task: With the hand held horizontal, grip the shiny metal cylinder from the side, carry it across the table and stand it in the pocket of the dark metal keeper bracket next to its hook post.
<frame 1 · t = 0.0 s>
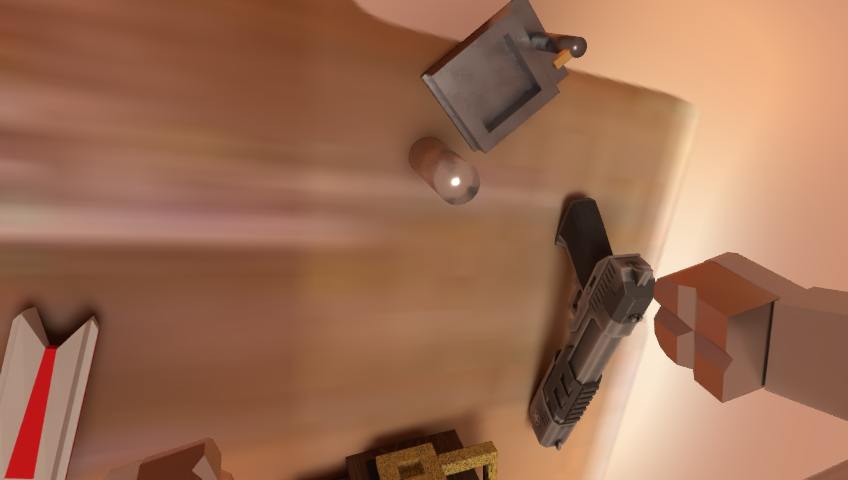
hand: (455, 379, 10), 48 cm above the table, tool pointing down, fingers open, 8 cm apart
toy gun: (49, 422, 59), on the table
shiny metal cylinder: (427, 155, 59), on the table
firearm: (553, 316, 74), on the table
keeper: (488, 81, 58), on the table
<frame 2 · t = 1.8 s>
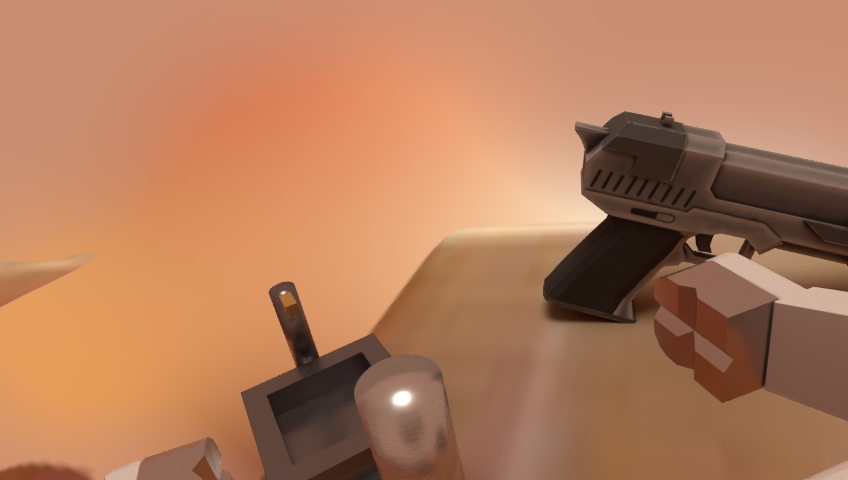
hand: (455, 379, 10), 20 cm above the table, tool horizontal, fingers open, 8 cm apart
firearm: (794, 310, 40), on the table
keeper: (340, 430, 37), on the table
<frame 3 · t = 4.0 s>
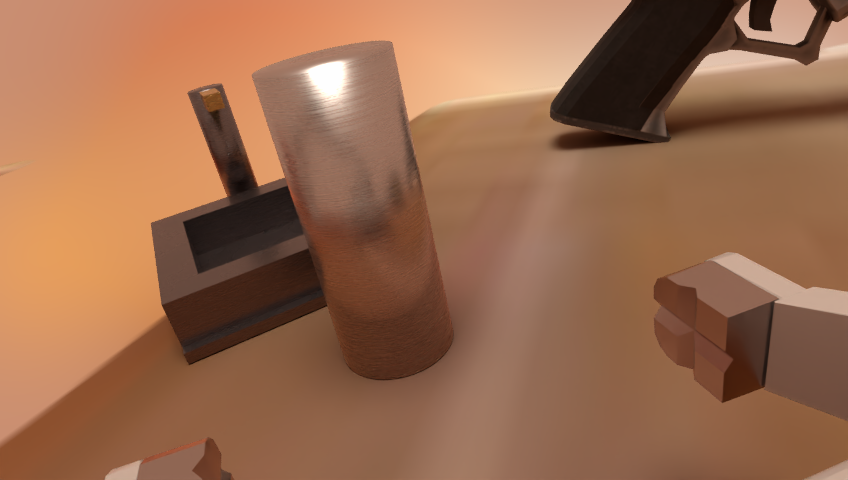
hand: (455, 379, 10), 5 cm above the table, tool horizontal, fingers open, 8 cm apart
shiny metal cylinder: (398, 340, 20), on the table
keeper: (280, 263, 28), on the table
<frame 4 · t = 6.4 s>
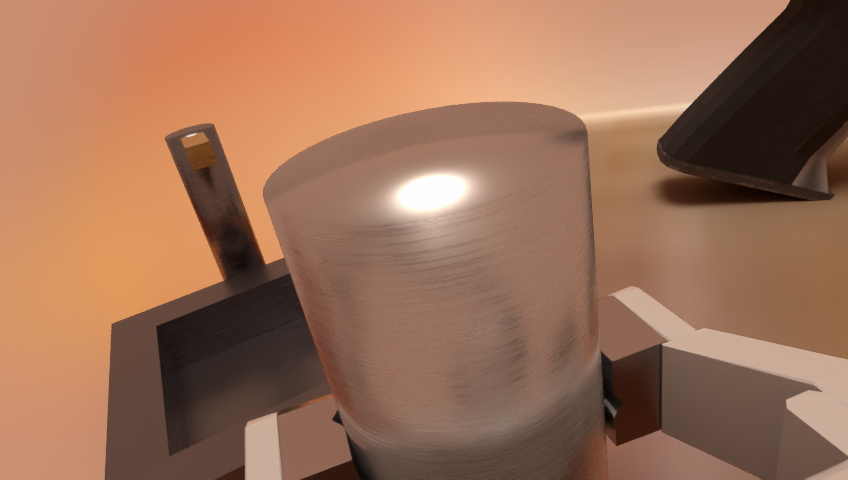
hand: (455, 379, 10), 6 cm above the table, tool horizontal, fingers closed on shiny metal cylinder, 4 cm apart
keeper: (297, 390, 19), on the table
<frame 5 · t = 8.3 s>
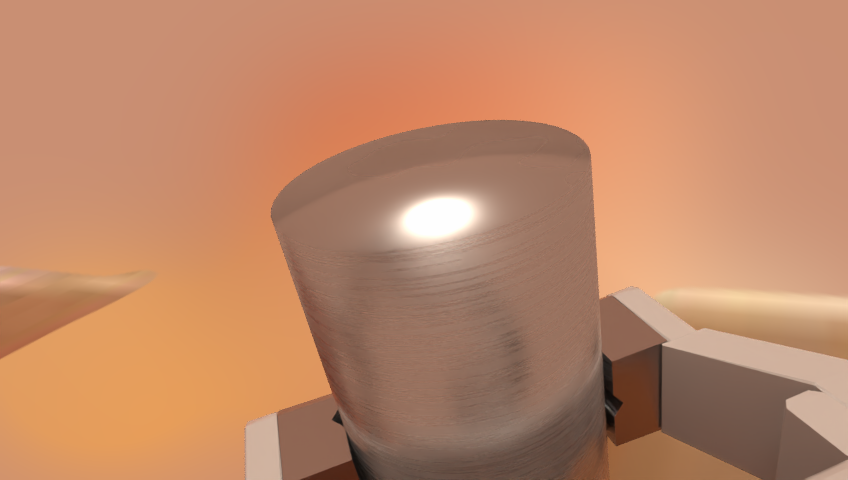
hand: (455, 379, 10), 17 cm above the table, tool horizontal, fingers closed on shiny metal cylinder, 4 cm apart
when the fingers open (7 cm above the table, at t = 10.6 s): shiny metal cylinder stays where it is, resting on keeper.
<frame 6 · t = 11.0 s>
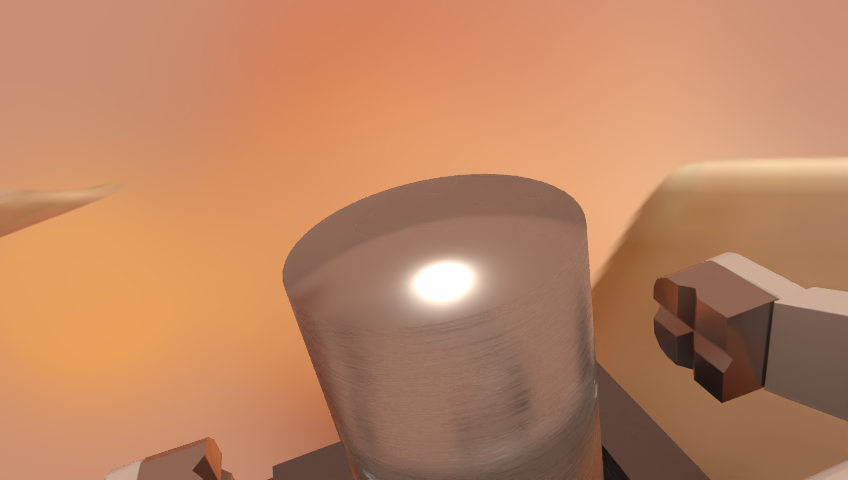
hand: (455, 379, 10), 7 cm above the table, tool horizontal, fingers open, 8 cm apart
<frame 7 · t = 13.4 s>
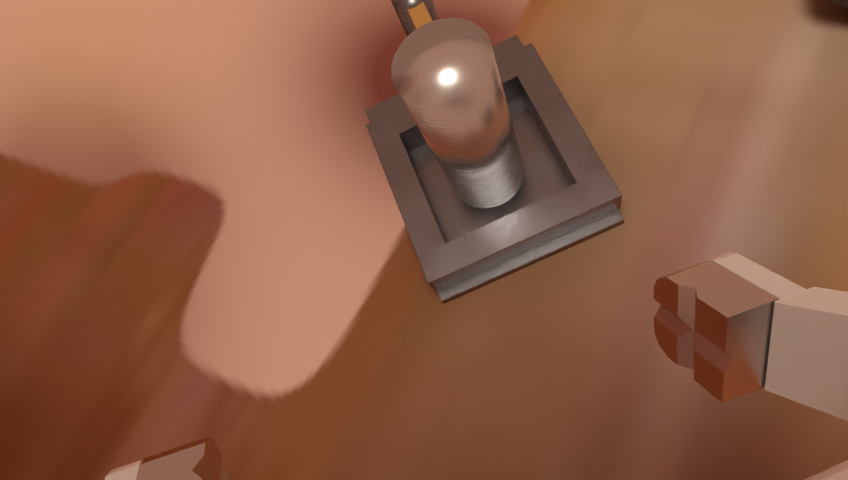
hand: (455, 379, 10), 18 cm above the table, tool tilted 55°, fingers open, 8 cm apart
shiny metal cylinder: (487, 174, 30), point 1 cm above the table, touching keeper
keeper: (490, 177, 31), on the table
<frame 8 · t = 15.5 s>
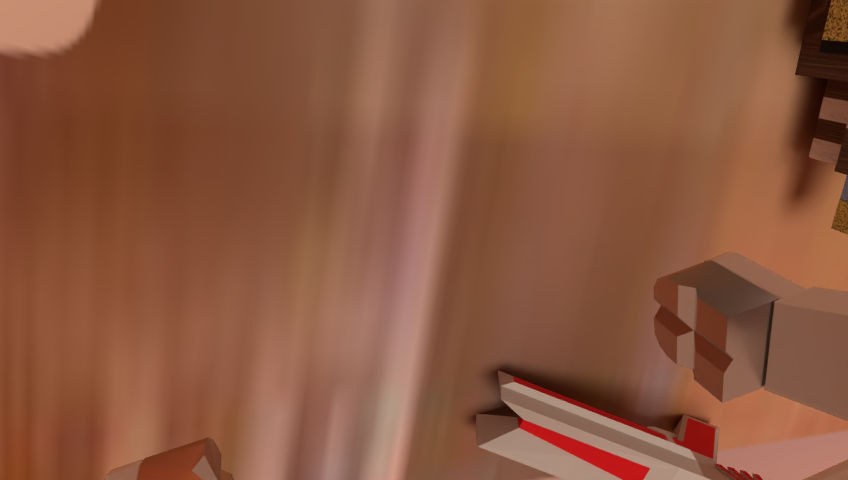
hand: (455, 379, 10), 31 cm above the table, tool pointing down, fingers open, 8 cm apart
toy gun: (598, 408, 58), on the table
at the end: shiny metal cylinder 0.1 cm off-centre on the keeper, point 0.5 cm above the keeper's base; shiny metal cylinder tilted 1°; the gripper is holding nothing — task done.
